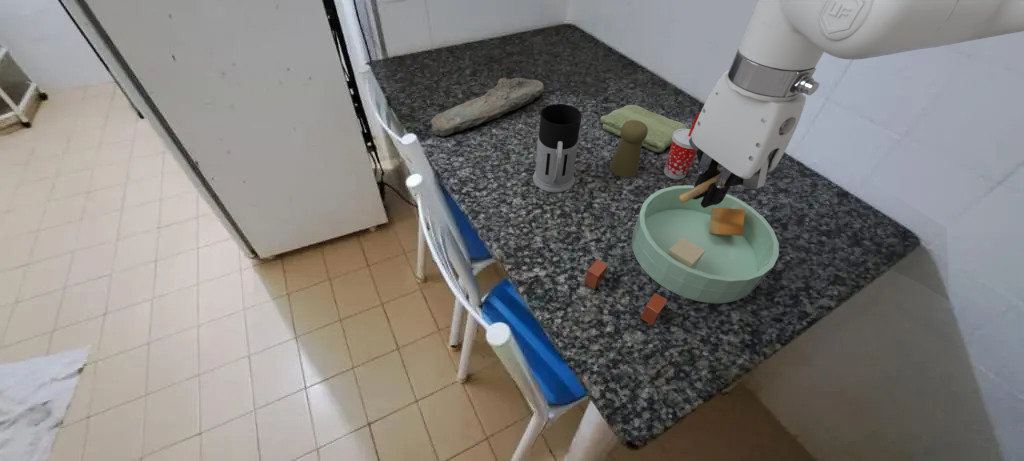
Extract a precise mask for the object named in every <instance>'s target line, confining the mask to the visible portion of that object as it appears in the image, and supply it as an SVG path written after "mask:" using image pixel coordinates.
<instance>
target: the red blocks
mask: <svg viewBox="0 0 1024 461" xmlns="http://www.w3.org/2000/svg"><path fill="white" fill-rule="evenodd" d="M608 267H609V265H608V264H607V263H605V262H604V261H602V260H601V259H598V258H597V259H595V261H594V262H593V263H592V264H591V266H590V267H589V268H588V269H587V271H586V275H585V279H584V284H585V285H586V286H588V287H590V288H591V289H593V290H596V289H597V288H598V287H599V285H600V284H601V283H602V282H603V281H604V279H605V277H606V274H607V271H608ZM667 302H668V299H666V298H665V297H664V296H661V295H660V294H658V293H656V292H655V293H653V295H652V296H651V298H650V299H649V301H648V302H647V304H646V305H645V307H644V309H643V311H642V313H641V315H640V320H642V321H644V322H645V323H647V324H648V325H650V326H653V325H654V324H655V322H656V321H657V320H658V318H659V317H660V315H661V313H662V311H663V309H664V307H665V306H666V304H667Z"/></svg>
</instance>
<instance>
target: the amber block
mask: <svg viewBox="0 0 1024 461" xmlns="http://www.w3.org/2000/svg"><path fill="white" fill-rule="evenodd" d="M744 215H745V209H730V208H712V210H711V221H710V231H709V233H713V234H722V235H737V236H742V235H743V225H744Z"/></svg>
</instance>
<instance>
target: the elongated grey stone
mask: <svg viewBox="0 0 1024 461" xmlns="http://www.w3.org/2000/svg"><path fill="white" fill-rule="evenodd" d="M544 90H545V86H544V82H542V81H540V80H539V79H533V78H532V79H529V78H528V79H527V78H523V77H513V78H507V77H501V78H499V79H498V81H497V84H496V85H495V86H494V87H493V88H490V89H489V90H487V92H486V93H485V94H484V95H480V97H475V98H472V99H469V100H466V101H465V102H464V103H460V104H458V105H455V106H453V107H451V108H449V109H447V110H445V111H442V112H439V113H436V114H435V116H434V117H432V119H430V125H431V131H432V133H433V134H434V135H436V136H439V137H443V138H444V137H447V136H449V135H452V134H455V133H457V132H458V133H459V132H463V131H464V130H467V129H470V128H472V127H477V126H478V127H479V126H480V125H482V124H483V123H486V122H490V121H492V120H496V119H499V118H500V117H502V116H503V115H504V114H507V113H510V112H512V111H516V110H517V109H520V108H521V107H523V106H526V105H528V104H531V103H532V102H535V99H537V98H539V97H540V96H541V95H542V94H543V93H544Z"/></svg>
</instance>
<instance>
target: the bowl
mask: <svg viewBox="0 0 1024 461" xmlns="http://www.w3.org/2000/svg"><path fill="white" fill-rule="evenodd" d="M694 186H695V185H689V184H685V185H684V184H683V185H673V186H668V187H664V188H661V189H659V190H657V191H655V192H653V193H651V194H650V195H649V196H648V197H647V198H646V200H644V201H643V203H642V206H641V208H640V211H639V214H638V216H637V219H636V222H635V225H634V228H633V230H632V233H631V234H632V235H631V248H632V251H633V254H634V257H635V259H636V261H637V262H638V264H639V265H640V267H641V268H642V269H643V271H644V272H645V273H646V274H647V275H648V277H650V278H651V280H653V281H654V282H656V283H657V284H659V285H660V286H661V287H663V288H665V289H666V290H667V291H669V292H672V293H673V294H675V295H678V296H680V297H683V298H685V299H689V300H691V301H696V302H699V303H700V302H701V303H707V304H726V303H727V304H728V303H732V302H736V301H739V300H741V299H744V298H746V297H747V296H749V295H750V294H752V292H754V290H756V289H757V288H758V287H759V285H760V284H761V283H762V282H763V280H764V279H765V278H766V277H767V276H768V274H769V273H770V272H771V271H772V270H773V268H774V267H775V264H776V262H777V260H778V259H779V256H780V243H779V240H778V237H777V235H776V233H775V230H774V229H773V227H772V226H771V225H770V223H769V222H768V220H767V219H766V218H765V217H764V216H763V215H761V214H760V213H759V212H758V211H757V210H756V209H754V207H752V206H751V205H749V204H747V203H746V202H745V201H743V200H740V199H739V198H737V197H735V196H733V195H731V194H728V193H727V194H726V195H725V197H724V199H723V201H722V202H721V203H719V204H717V205H711V206H708V207H706V208H703V207H702V206H701V202H702V200H703V197H702V198H699V199H696V200H695V199H693V198H692V199H691V200H689V201H687V202H685V203H682V202H680V201H679V199H678V198H679V196H680V195H681V194H683V193H685V192H686V191H688V190H690V189H692V188H694ZM712 208H730V209H745V215H744V225H743V235H742V236H737V235H722V234H713V233H709V231H710V221H711V210H712ZM682 237H683V238H685V239H686V240H688V241H690V242H691V243H693V244H695V245H697V246H698V247H700V248H702V249H703V250H705V252H704V254H703V255H702V257H701V259H700V261H699V262H698V264H697V266H696V268H695V269H692V268H689V267H687V266H685V265H684V264H682V263H680V262H678V261H676V260H674V259H673V258H672V257H670V256H669V255H668V252H669V250H670V249H671V248H672V247H673V246H674V245H675V244H676V243H677V242H678V241H679V240H680V239H681V238H682Z"/></svg>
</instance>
